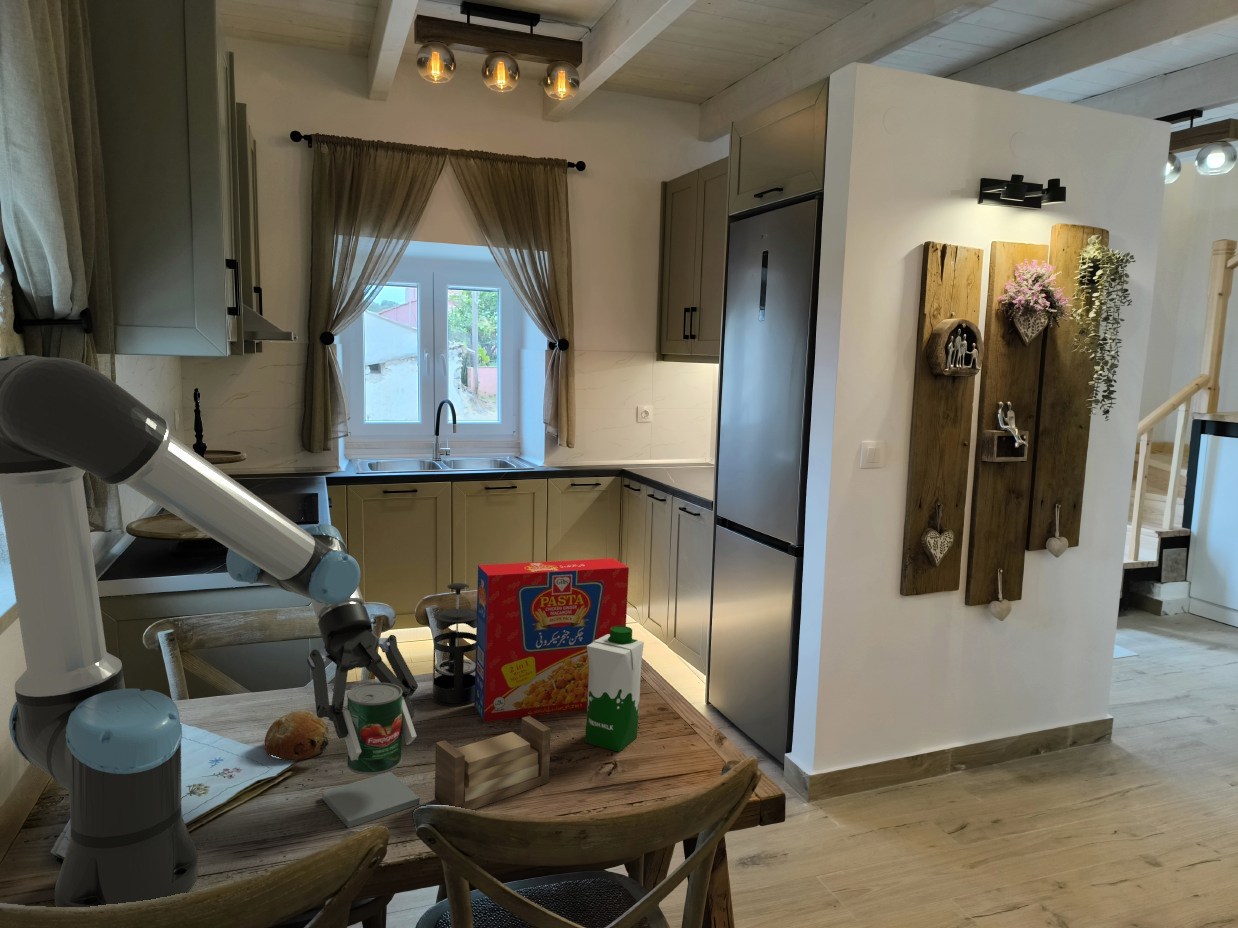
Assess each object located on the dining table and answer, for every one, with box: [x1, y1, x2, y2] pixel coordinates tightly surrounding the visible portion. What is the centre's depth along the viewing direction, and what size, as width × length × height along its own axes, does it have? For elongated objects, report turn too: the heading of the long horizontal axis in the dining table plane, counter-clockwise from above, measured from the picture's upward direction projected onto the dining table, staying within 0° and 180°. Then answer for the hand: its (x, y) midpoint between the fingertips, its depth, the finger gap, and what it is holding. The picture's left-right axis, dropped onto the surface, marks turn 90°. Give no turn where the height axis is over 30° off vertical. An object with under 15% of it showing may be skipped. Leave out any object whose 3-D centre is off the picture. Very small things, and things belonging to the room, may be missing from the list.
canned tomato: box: [346, 682, 403, 776], centre depth 123 cm, size 8×8×11 cm
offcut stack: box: [455, 731, 539, 802], centre depth 128 cm, size 13×5×6 cm, turn 130°
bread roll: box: [264, 710, 331, 761], centre depth 139 cm, size 10×10×8 cm
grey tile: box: [321, 770, 421, 829], centre depth 123 cm, size 11×10×1 cm
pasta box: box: [473, 557, 630, 723], centre depth 160 cm, size 28×8×28 cm, turn 113°
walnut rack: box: [434, 716, 552, 810], centre depth 128 cm, size 17×6×9 cm, turn 130°
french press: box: [431, 582, 477, 707], centre depth 163 cm, size 12×9×23 cm
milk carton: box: [584, 625, 645, 753], centre depth 147 cm, size 9×9×20 cm
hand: (384, 747), depth 120 cm, fingers closed on canned tomato, 8 cm apart
